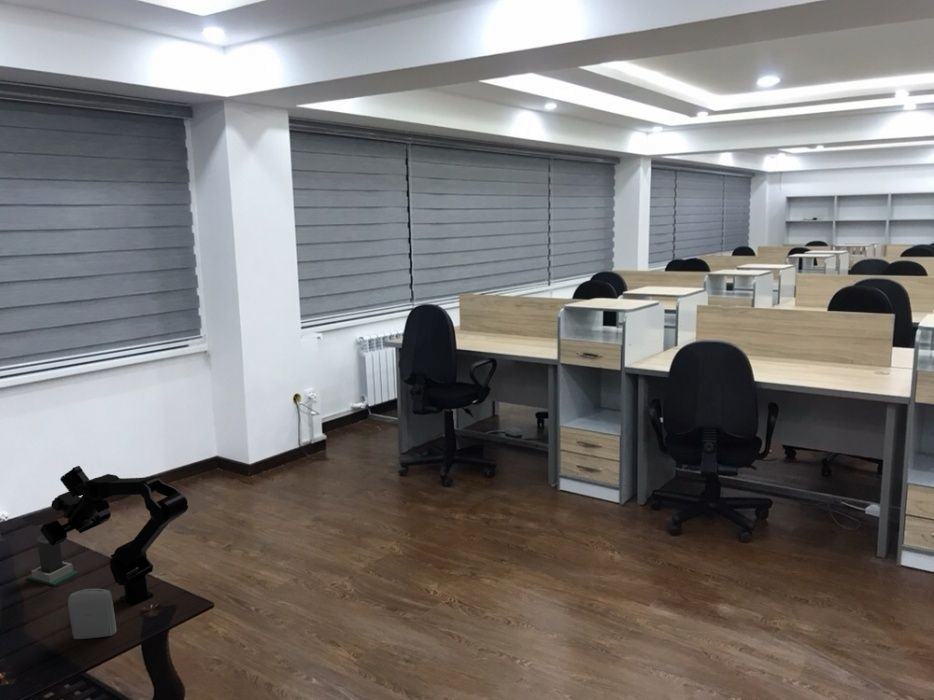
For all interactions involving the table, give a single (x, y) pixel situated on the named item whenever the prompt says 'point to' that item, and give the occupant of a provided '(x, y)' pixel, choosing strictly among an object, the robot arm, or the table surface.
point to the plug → (49, 555)
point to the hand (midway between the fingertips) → (65, 538)
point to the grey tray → (54, 575)
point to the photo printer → (92, 613)
